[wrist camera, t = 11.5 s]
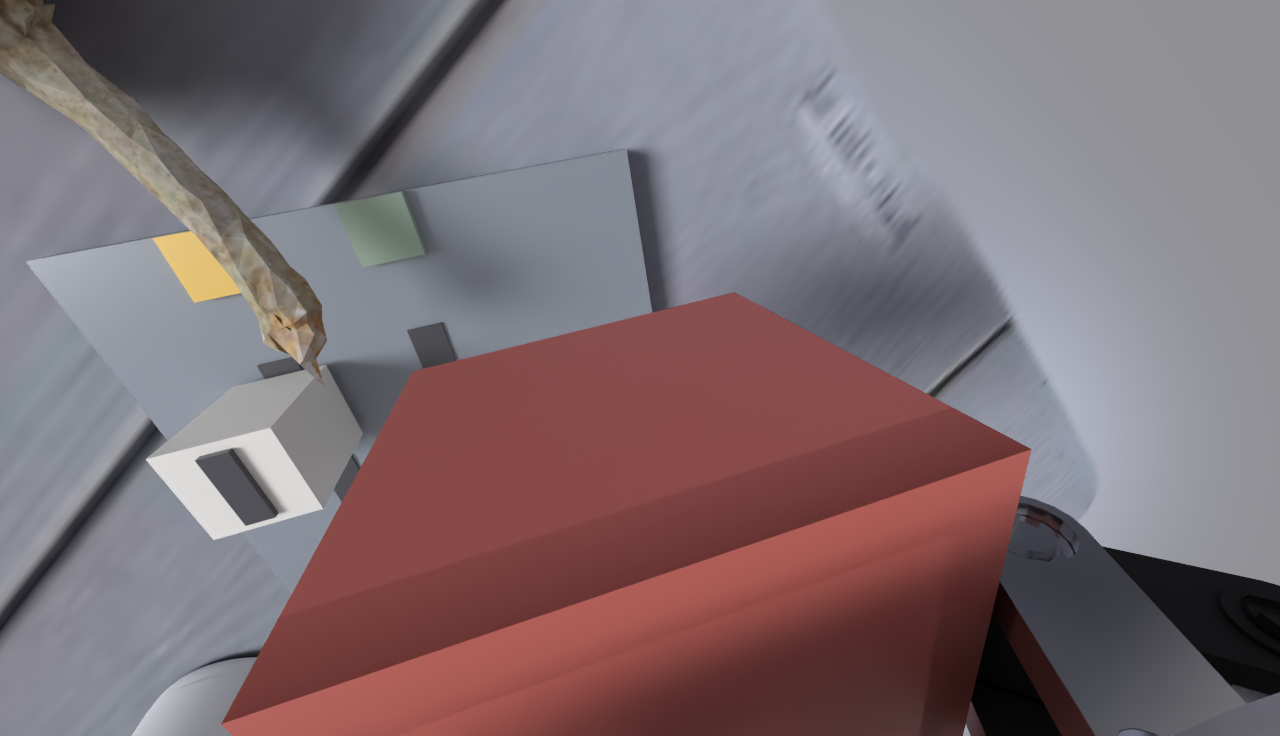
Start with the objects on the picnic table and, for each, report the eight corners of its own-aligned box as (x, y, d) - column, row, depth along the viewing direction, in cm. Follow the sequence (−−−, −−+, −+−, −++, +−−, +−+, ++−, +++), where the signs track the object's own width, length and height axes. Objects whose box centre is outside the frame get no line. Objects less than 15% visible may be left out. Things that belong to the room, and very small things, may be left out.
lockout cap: (753, 524, 12) (945, 806, 7) (513, 604, 11) (507, 1010, 6) (734, 292, 9) (1031, 448, 4) (412, 371, 8) (220, 724, 3)
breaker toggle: (363, 433, 17) (320, 513, 13) (278, 455, 17) (209, 545, 13) (325, 364, 16) (266, 431, 12) (232, 387, 15) (140, 463, 12)
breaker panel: (671, 465, 23) (715, 549, 18) (301, 578, 21) (234, 712, 16) (620, 149, 17) (667, 147, 12) (56, 254, 14) (-200, 310, 9)
